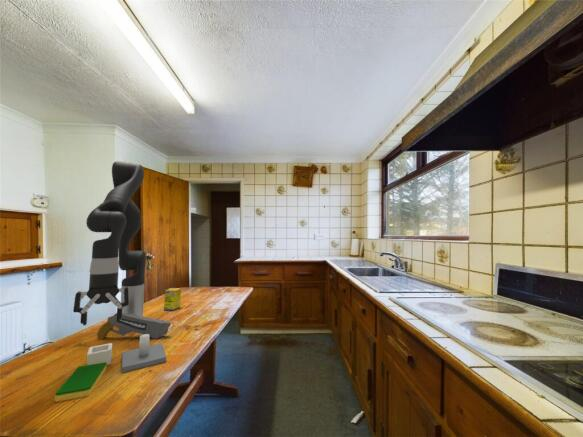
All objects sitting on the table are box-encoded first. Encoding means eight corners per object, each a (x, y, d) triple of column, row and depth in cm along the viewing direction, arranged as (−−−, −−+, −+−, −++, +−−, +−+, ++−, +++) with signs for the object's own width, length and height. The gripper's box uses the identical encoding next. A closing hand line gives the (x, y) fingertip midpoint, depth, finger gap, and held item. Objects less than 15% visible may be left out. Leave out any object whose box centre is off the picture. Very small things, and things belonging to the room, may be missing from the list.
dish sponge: (53, 403, 61) (54, 393, 61) (78, 374, 74) (78, 366, 74) (89, 397, 64) (90, 387, 64) (106, 369, 77) (107, 361, 77)
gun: (153, 361, 98) (169, 324, 100) (92, 338, 97) (110, 302, 98) (157, 357, 101) (172, 321, 103) (98, 335, 100) (115, 299, 101)
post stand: (122, 356, 84) (123, 333, 85) (161, 347, 91) (162, 326, 91) (121, 372, 74) (122, 346, 75) (166, 361, 81) (167, 338, 81)
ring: (88, 361, 81) (89, 347, 81) (111, 356, 84) (112, 342, 84) (86, 369, 76) (87, 354, 76) (110, 364, 79) (111, 349, 79)
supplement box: (163, 310, 135) (164, 290, 135) (170, 307, 140) (171, 287, 141) (173, 311, 134) (174, 290, 134) (180, 308, 140) (181, 288, 140)
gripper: (130, 268, 89) (127, 315, 88) (78, 271, 81) (75, 323, 80) (130, 271, 83) (127, 321, 81) (74, 274, 75) (70, 330, 74)
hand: (101, 322), depth 81 cm, fingers open, 8 cm apart
